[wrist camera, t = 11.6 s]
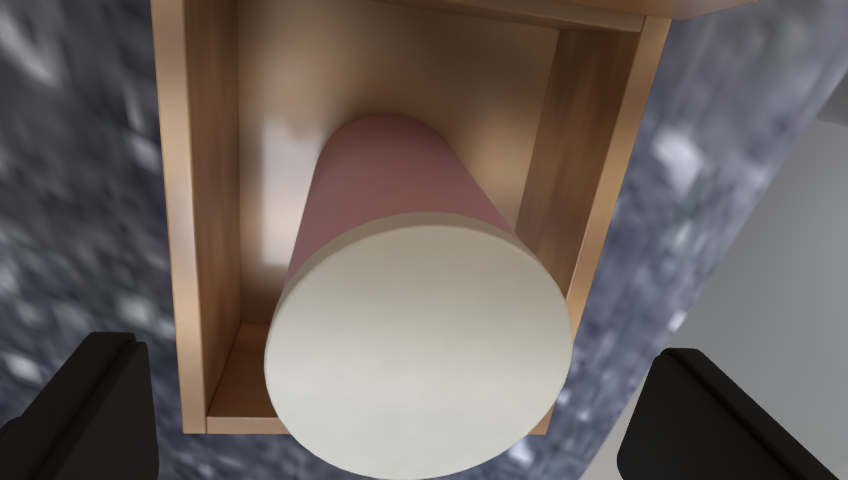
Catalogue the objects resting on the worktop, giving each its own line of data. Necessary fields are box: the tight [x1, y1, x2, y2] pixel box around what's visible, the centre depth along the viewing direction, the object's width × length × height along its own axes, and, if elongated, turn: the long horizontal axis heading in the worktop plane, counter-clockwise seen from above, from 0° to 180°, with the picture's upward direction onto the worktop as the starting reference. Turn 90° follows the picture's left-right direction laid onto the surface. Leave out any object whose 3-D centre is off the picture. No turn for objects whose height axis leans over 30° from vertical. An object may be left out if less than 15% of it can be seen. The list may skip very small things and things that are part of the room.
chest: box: [150, 0, 672, 434], centre depth 18 cm, size 16×14×7 cm
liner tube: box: [264, 114, 573, 480], centre depth 15 cm, size 6×6×12 cm
